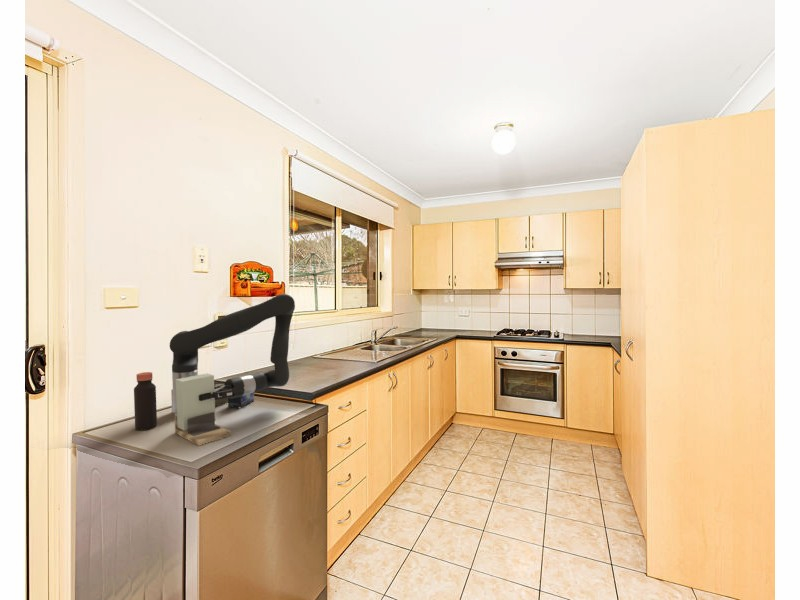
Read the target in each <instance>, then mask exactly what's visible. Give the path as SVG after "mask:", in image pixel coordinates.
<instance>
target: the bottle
mask: <svg viewBox="0 0 800 600" xmlns="http://www.w3.org/2000/svg"><path fill="white" fill-rule="evenodd" d="M152 381H153V372H149V371H148V372H147V371H146V372H144V371H143V372H140V373H136V383H137V384H136V386H134V388H133V400H134V401H133V404H134V405H133V407H134V409H133V410H134V428H135V431H147V429H148V430H151V428H152V429H154V428H156V427H157V425H158V419H157V417H158V416H157V414H158V413H157V411H158V410H157V409H158V408H157V386H156V385H155V383H153V382H152Z"/></svg>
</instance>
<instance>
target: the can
mask: <svg viewBox="0 0 800 600" xmlns="http://www.w3.org/2000/svg"><path fill="white" fill-rule="evenodd" d="M214 384H215V385H216V386H217V385H224V384H225V383H214ZM225 403H226V404H228V398H223V399H217V400H215V407H216V405H217V406H223V405H225ZM222 404H223V405H222Z"/></svg>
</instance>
